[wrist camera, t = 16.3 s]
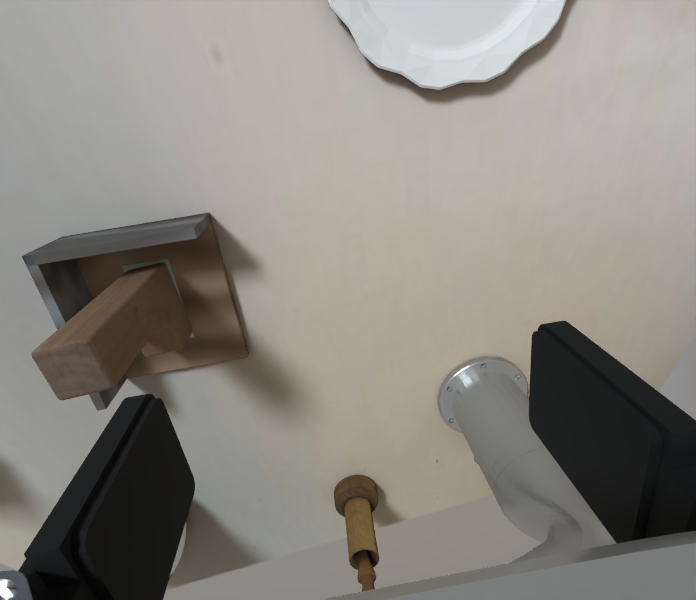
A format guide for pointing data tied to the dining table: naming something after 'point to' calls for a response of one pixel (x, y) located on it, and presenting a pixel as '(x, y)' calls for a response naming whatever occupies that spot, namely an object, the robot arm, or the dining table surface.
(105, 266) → the tray
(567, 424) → the robot arm
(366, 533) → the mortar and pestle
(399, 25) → the plate
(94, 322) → the wooden block
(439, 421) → the dining table surface
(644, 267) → the dining table surface
